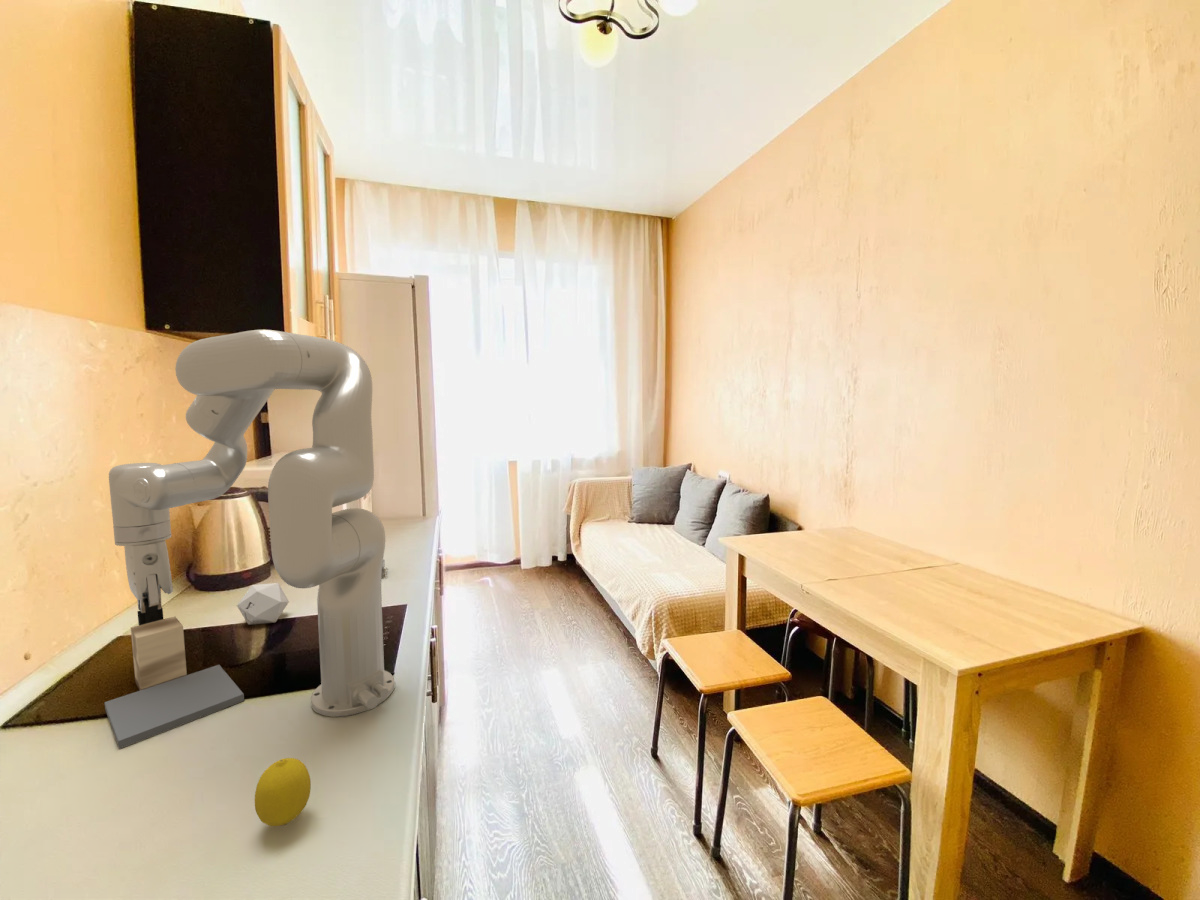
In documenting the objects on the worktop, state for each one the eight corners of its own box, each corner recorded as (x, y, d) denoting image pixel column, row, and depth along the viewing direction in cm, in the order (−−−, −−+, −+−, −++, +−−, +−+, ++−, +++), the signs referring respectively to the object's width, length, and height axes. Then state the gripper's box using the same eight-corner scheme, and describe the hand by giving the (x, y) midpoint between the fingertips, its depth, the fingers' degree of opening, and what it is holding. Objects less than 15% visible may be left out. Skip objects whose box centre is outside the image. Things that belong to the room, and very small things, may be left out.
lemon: (245, 835, 57) (240, 770, 56) (290, 799, 62) (286, 739, 61) (279, 851, 55) (275, 783, 54) (323, 812, 60) (319, 750, 59)
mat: (244, 700, 82) (243, 693, 82) (119, 748, 71) (118, 741, 71) (219, 670, 91) (219, 664, 91) (105, 709, 80) (104, 702, 80)
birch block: (187, 680, 88) (182, 625, 88) (141, 695, 84) (136, 638, 83) (179, 668, 92) (175, 616, 91) (135, 682, 88) (130, 627, 87)
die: (238, 622, 113) (223, 598, 106) (273, 591, 119) (260, 567, 113) (266, 639, 111) (253, 616, 104) (300, 608, 118) (289, 584, 111)
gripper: (179, 535, 87) (187, 635, 89) (162, 521, 97) (169, 612, 99) (120, 544, 82) (130, 651, 83) (108, 529, 91) (117, 625, 93)
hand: (151, 630), depth 91 cm, fingers closed
